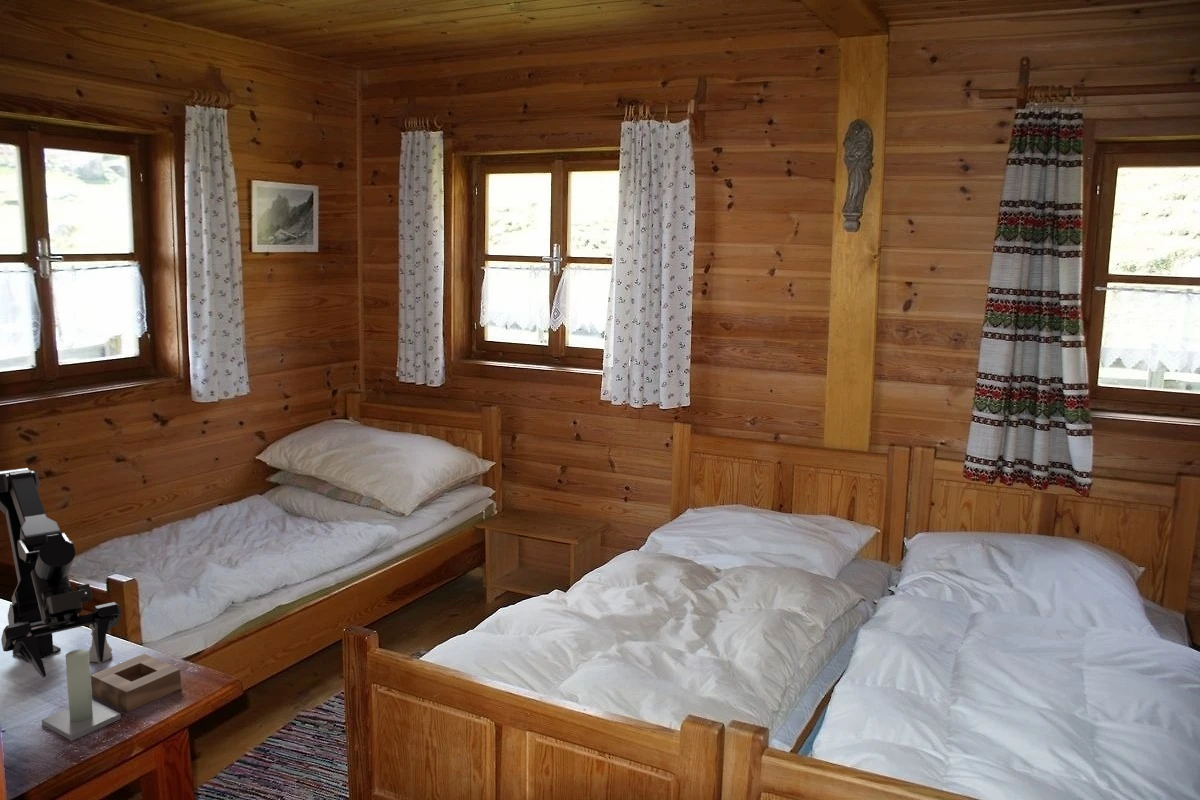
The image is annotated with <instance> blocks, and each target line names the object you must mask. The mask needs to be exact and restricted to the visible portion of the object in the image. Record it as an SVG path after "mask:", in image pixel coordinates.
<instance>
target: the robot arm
mask: <svg viewBox="0 0 1200 800" xmlns="http://www.w3.org/2000/svg"><path fill="white" fill-rule="evenodd" d="M39 488H40V479H39V473H38V470H30V469H29V468H28V467H21V468H15V469H14V468H13V469H5V470H0V511H1V513H3V514H4V515H5V520H6V524H7V529H8V530H7V531H8V535H9V540H10V545H11V546H10V547H11V551H12V556H13V562H14V567H15V573H16V578H17V586H16V587H15V589H14V592H13V594H12V595H11V602H12V603H10V604H9V608H8V612H7V622H8V625H6V626H5V627H4V628H3V631H2V634H1V638H0V639H1V646H2V651H3V652H11V651H12V655H13V656H15V657H17V658H20V659H22V660H23V661H26V662H28V663H30V664H31V665H32V667H33V668H34V669H35V670H36V671H37V673H38V674H39V675H40V676H41V677H42V678H46V677H47V673H46V669H45V668H46V667H45V664H44V662H43V658H45V657H46V658H47V657H49V656H51V655H53V654H56V653H59V652H61V651H62V648H61V647H58V645H57V646H56V644H55V645H54V641H53V640H54V639H53V634H56V633H59V632H65V631H68V630H72V629H76V628H81V627H85V626H90V625H91V624H92V626H93V628H95V629H94V632H93V637H94V642H95V647H96V653H97V657H98V660H99V662H98V663H99V664H102V663H103V655H104V645H105V637H106V638H107V633H109V632H110V631H111V630H112V628H113V627H115V626H117V625H118V623H119V620H120V618H121V616H122V609H121V606H120V605H119V604H118V603H117V602H116V601H113V602H108V603H103V604H99V605H95V606H94V608H93V611H92V612H91V613H87V614H83V615H79V614H81V612H82V608H83V603H87V602H88V603H89V602H92V600H93V593H92V589H91V586H90V583H85V584H80V585H77V586H76V590H74V589H73V587H72V586H71V582H70V578H69V574H70V572H71V569H72V566H73V564H74V560H75V556H76V548H75V546H74V542H73V541H72V540H71V539H70V538H69V537H67V535H66V534H65V532H62V530H61V528H60V526H59V524H58V522H57V521H55V520H53V519H51V518H49V517H48V516H47V513H46V511H45V508H44V505H43V502H42V499H41V496H40V494H39V491H38V489H39Z"/></svg>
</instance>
